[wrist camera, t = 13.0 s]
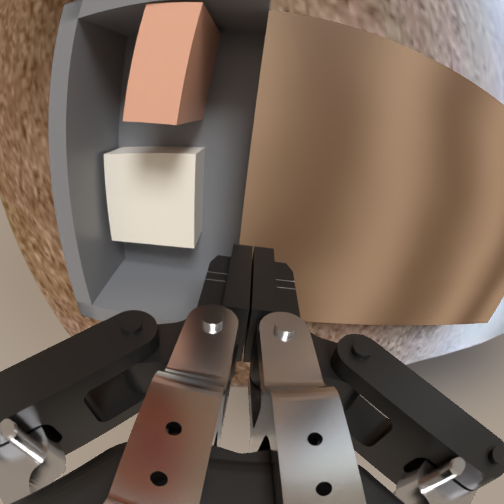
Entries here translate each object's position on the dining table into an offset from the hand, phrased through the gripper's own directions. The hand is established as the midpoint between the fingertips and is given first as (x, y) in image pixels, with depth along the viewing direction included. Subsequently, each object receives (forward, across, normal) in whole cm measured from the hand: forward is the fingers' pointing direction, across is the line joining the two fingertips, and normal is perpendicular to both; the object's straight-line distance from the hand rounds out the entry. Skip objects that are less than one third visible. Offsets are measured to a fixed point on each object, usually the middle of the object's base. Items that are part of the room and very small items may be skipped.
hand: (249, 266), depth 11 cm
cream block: (+2, +5, -1) cm, 6 cm away
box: (+5, +4, -3) cm, 7 cm away
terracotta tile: (+2, +3, -7) cm, 8 cm away
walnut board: (+5, -8, -3) cm, 10 cm away
